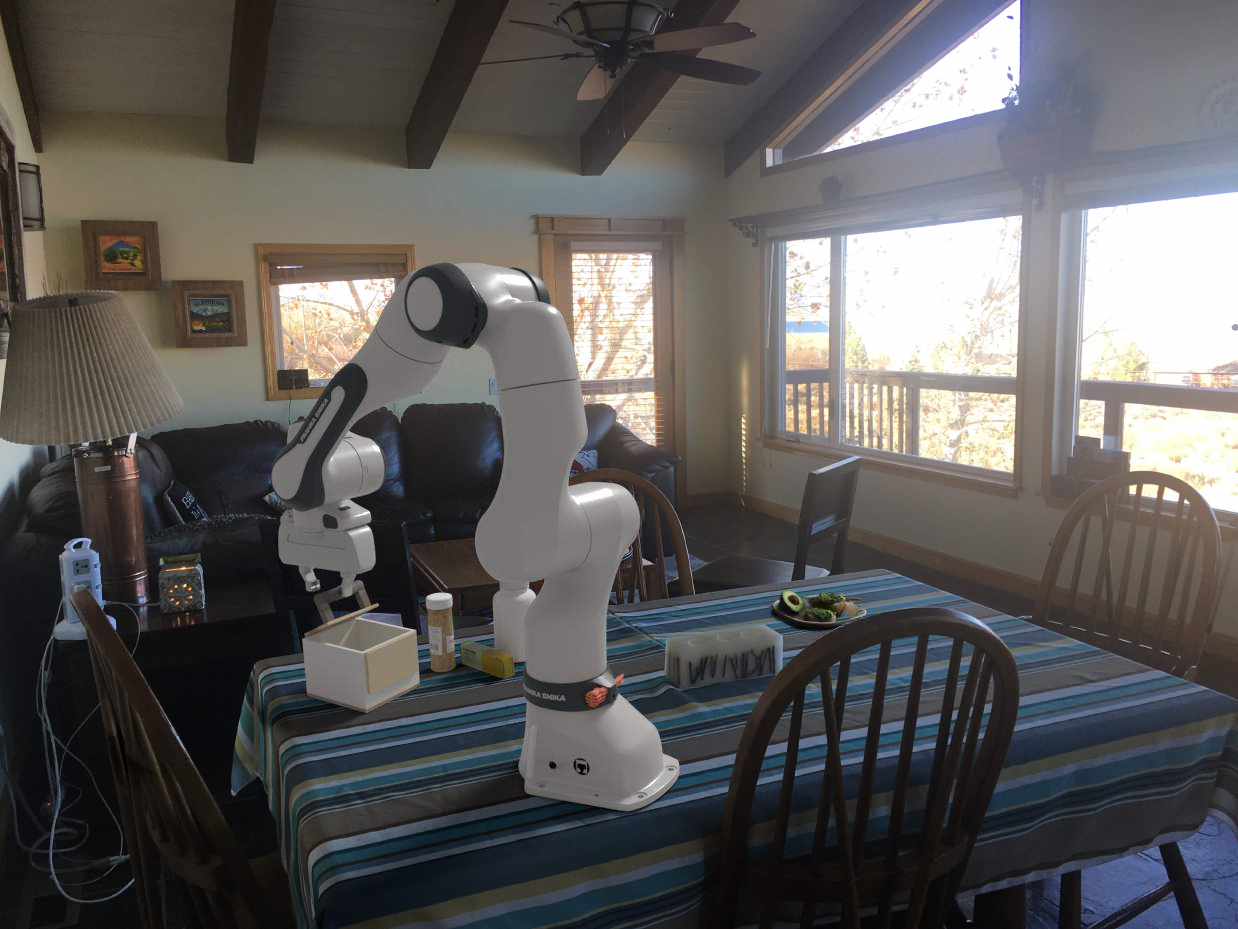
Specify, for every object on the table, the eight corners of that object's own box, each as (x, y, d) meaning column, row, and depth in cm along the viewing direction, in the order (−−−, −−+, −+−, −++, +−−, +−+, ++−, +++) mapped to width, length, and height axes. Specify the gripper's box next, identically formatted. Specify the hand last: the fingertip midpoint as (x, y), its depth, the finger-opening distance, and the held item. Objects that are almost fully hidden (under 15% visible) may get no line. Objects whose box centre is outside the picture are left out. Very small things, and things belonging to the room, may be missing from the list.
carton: (422, 687, 157) (418, 630, 155) (368, 714, 147) (364, 654, 145) (361, 671, 164) (357, 617, 163) (307, 696, 154) (302, 638, 153)
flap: (379, 605, 159) (366, 576, 159) (328, 625, 149) (315, 593, 150) (356, 617, 162) (344, 588, 163) (305, 636, 153) (292, 606, 153)
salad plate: (839, 595, 201) (840, 575, 200) (889, 621, 184) (890, 598, 183) (760, 607, 194) (760, 586, 193) (804, 635, 178) (804, 612, 177)
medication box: (459, 664, 167) (458, 643, 166) (471, 659, 169) (469, 639, 168) (504, 681, 159) (502, 659, 158) (516, 675, 161) (514, 654, 160)
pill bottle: (546, 657, 169) (543, 577, 166) (507, 667, 164) (503, 586, 162) (525, 644, 175) (522, 568, 173) (487, 654, 171) (483, 576, 168)
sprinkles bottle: (460, 669, 164) (456, 596, 162) (436, 675, 162) (431, 601, 159) (450, 661, 168) (445, 590, 166) (426, 667, 165) (421, 595, 163)
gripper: (264, 512, 157) (273, 591, 159) (348, 521, 146) (356, 605, 149) (295, 505, 163) (303, 581, 165) (378, 513, 152) (385, 594, 154)
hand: (329, 593), depth 156 cm, fingers open, 7 cm apart
